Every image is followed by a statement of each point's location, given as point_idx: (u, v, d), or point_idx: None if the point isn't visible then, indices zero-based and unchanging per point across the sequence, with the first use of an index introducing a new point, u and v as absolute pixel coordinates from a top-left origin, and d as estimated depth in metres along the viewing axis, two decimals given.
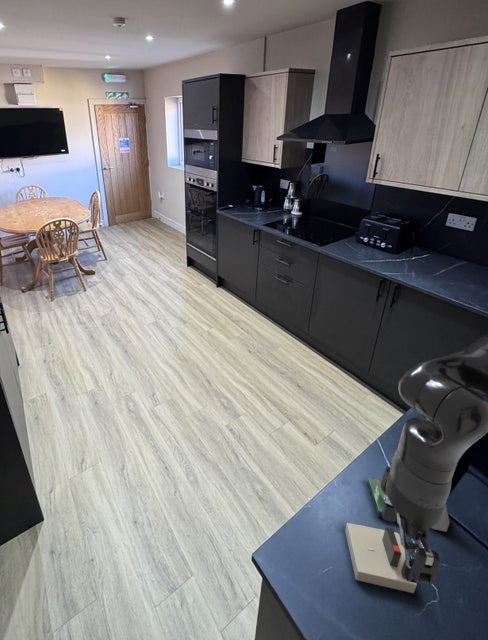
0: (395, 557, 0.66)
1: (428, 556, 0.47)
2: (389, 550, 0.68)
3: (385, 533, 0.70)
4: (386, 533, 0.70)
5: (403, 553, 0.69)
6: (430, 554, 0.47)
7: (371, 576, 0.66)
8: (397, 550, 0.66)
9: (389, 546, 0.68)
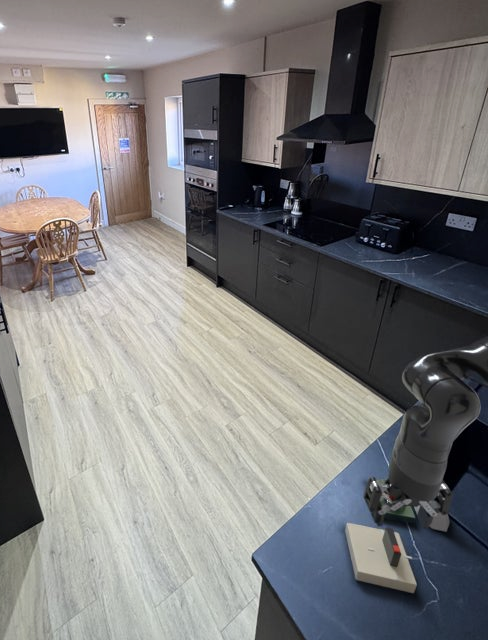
0: (395, 557, 0.66)
1: (372, 483, 0.60)
2: (389, 550, 0.68)
3: (385, 533, 0.70)
4: (386, 533, 0.70)
5: (403, 553, 0.69)
6: (375, 484, 0.60)
7: (371, 576, 0.66)
8: (397, 550, 0.66)
9: (389, 546, 0.68)
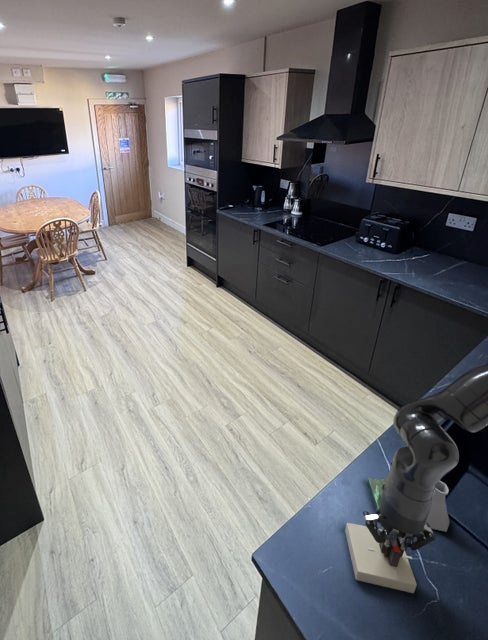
0: (395, 557, 0.66)
1: (364, 517, 0.68)
2: None
3: None
4: None
5: (403, 553, 0.69)
6: (365, 518, 0.68)
7: (371, 576, 0.66)
8: (397, 550, 0.66)
9: None
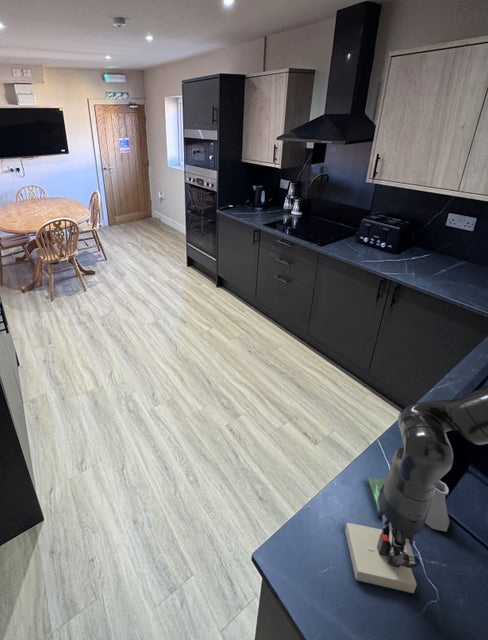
0: (380, 541, 0.69)
1: None
2: None
3: None
4: None
5: None
6: None
7: (371, 576, 0.66)
8: (383, 537, 0.68)
9: None
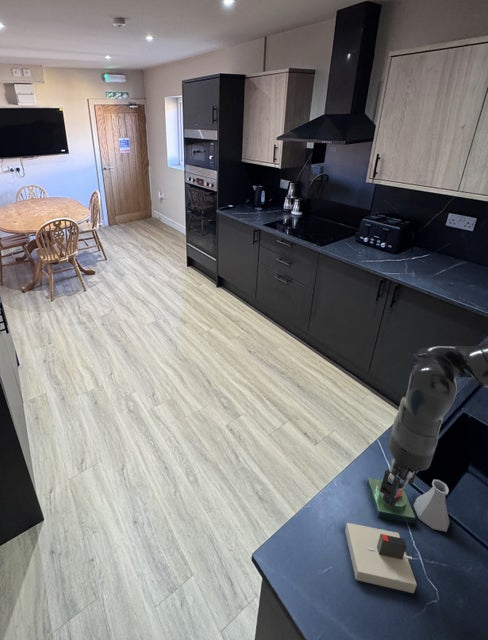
0: (380, 541, 0.69)
1: None
2: None
3: None
4: None
5: None
6: None
7: (371, 576, 0.66)
8: (383, 537, 0.68)
9: None
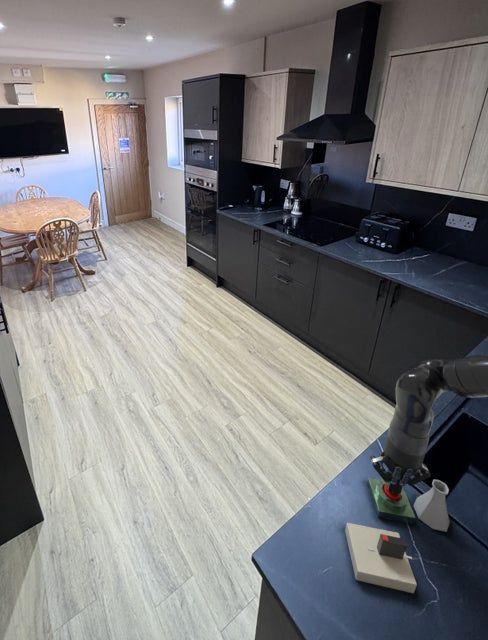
0: (380, 541, 0.69)
1: None
2: None
3: None
4: None
5: None
6: (427, 469, 0.76)
7: (371, 576, 0.66)
8: (383, 537, 0.68)
9: None
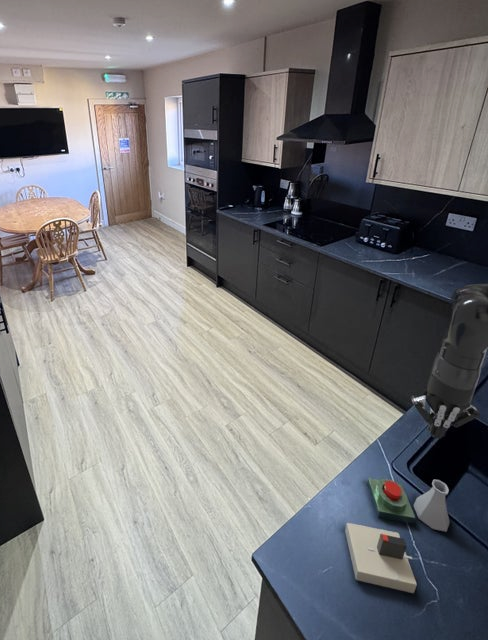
0: (380, 541, 0.69)
1: None
2: None
3: None
4: None
5: None
6: (476, 409, 0.70)
7: (371, 576, 0.66)
8: (383, 537, 0.68)
9: None
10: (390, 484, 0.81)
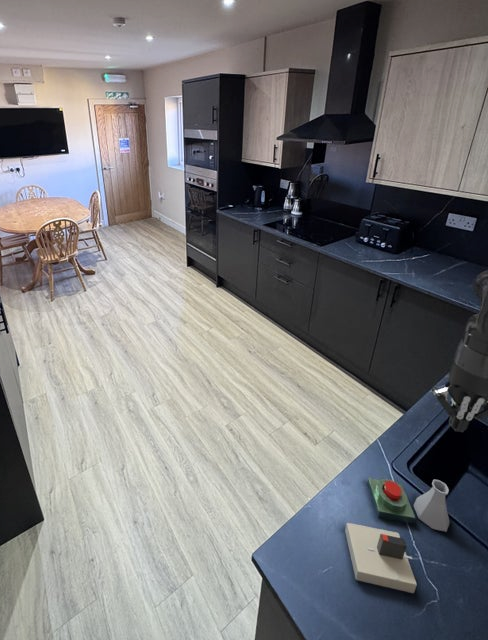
0: (380, 541, 0.69)
1: None
2: None
3: None
4: None
5: None
6: None
7: (371, 576, 0.66)
8: (383, 537, 0.68)
9: None
10: (390, 484, 0.81)
